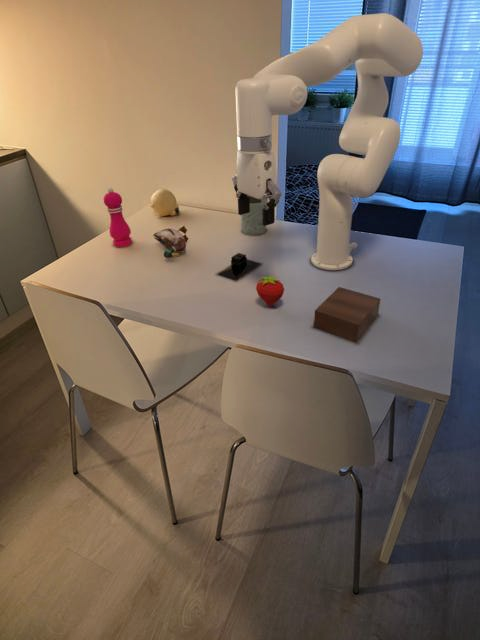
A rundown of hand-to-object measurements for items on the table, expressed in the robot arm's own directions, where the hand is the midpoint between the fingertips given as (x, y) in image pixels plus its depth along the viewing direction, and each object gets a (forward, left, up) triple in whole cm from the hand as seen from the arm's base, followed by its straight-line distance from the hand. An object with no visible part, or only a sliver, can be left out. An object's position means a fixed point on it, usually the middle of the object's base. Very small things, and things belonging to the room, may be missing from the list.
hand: (255, 218), depth 100 cm
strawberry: (0, +5, -23) cm, 23 cm away
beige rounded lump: (-15, -76, -23) cm, 80 cm away
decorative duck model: (+3, -43, -23) cm, 48 cm away
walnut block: (-9, +23, -23) cm, 34 cm away
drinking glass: (-30, -37, -23) cm, 52 cm away
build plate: (-7, -17, -23) cm, 29 cm away
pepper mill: (+11, -62, -23) cm, 67 cm away
